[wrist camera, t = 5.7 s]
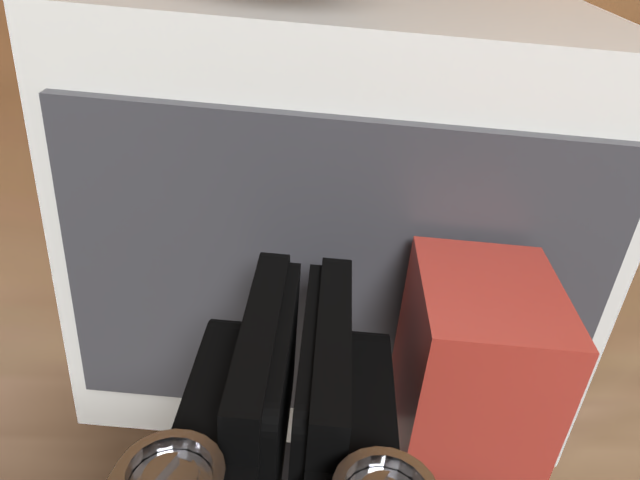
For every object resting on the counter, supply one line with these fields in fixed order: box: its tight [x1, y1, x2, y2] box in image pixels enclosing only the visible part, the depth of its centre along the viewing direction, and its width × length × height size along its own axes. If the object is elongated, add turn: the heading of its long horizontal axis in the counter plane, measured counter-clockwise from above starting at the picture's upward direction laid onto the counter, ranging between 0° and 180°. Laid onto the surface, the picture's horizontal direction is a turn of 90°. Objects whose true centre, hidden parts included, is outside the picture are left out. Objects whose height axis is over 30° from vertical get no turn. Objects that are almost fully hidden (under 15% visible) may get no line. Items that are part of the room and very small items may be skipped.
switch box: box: [3, 0, 640, 467], centre depth 15 cm, size 12×10×7 cm
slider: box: [392, 236, 600, 480], centre depth 11 cm, size 2×3×3 cm
